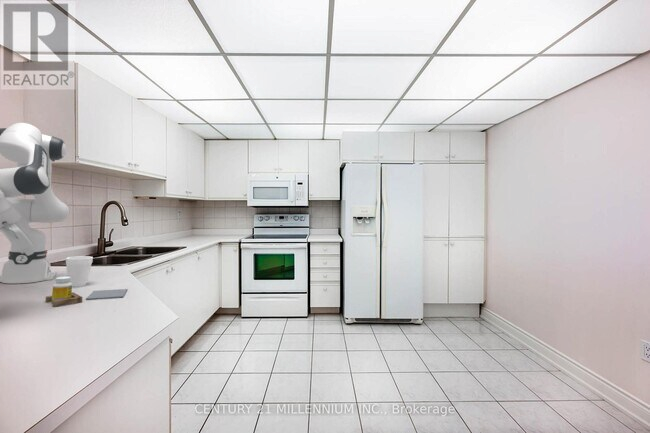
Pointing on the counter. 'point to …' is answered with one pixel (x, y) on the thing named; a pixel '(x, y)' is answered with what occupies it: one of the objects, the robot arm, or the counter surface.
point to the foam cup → (78, 269)
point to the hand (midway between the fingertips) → (25, 248)
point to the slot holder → (65, 300)
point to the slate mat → (107, 294)
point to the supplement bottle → (62, 289)
